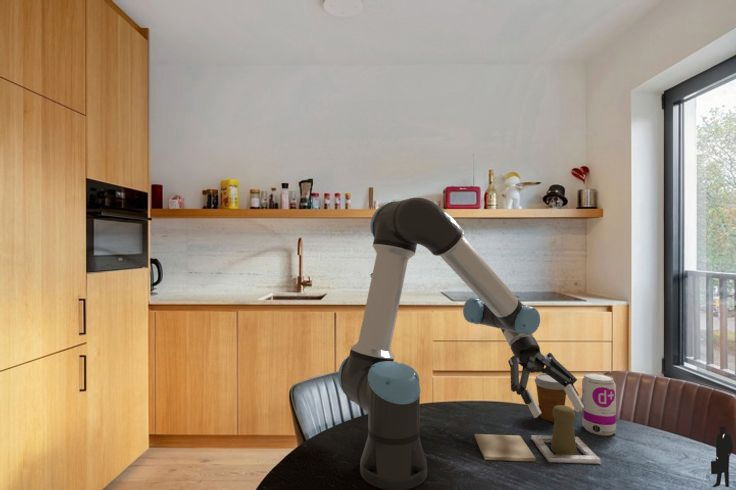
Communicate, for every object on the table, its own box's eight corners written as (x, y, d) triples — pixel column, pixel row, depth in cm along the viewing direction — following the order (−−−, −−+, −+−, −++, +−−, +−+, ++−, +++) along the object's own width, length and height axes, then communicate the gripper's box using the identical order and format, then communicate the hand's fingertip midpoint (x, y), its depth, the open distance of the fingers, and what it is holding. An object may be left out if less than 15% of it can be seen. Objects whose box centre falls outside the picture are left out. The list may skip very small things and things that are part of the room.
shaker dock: (548, 462, 97) (548, 457, 97) (531, 438, 109) (531, 435, 109) (600, 463, 96) (600, 459, 96) (577, 440, 108) (577, 436, 108)
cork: (546, 449, 103) (546, 406, 103) (557, 442, 106) (557, 400, 107) (570, 459, 98) (570, 413, 98) (581, 451, 102) (581, 407, 102)
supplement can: (620, 438, 109) (620, 382, 110) (587, 435, 111) (587, 380, 111) (609, 425, 117) (609, 373, 118) (578, 422, 119) (578, 371, 119)
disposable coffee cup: (528, 412, 127) (528, 373, 127) (555, 410, 128) (555, 372, 129) (546, 425, 117) (546, 383, 118) (576, 422, 119) (576, 381, 119)
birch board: (484, 459, 97) (484, 456, 97) (474, 437, 109) (474, 434, 109) (535, 461, 97) (535, 458, 97) (519, 438, 109) (520, 435, 109)
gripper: (549, 346, 126) (589, 413, 112) (479, 351, 119) (512, 424, 104) (562, 332, 121) (605, 400, 107) (490, 337, 114) (526, 411, 99)
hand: (559, 412), depth 105 cm, fingers open, 13 cm apart
